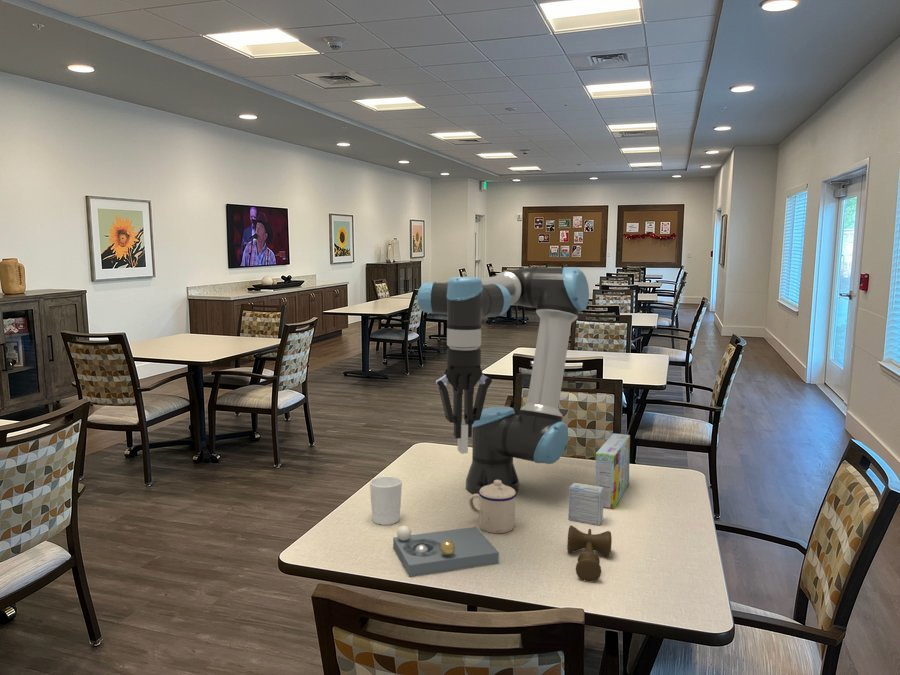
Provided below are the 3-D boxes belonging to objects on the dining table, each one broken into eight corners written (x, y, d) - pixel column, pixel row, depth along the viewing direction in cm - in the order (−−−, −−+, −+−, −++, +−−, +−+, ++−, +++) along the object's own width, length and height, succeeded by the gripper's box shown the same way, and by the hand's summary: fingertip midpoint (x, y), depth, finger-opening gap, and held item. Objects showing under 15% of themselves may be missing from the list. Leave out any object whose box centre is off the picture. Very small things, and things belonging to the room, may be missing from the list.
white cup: (396, 527, 159) (396, 488, 158) (365, 524, 161) (365, 485, 159) (405, 515, 167) (405, 477, 166) (375, 512, 168) (375, 475, 167)
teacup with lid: (520, 523, 162) (521, 478, 161) (507, 537, 154) (508, 489, 153) (476, 514, 168) (477, 470, 166) (461, 527, 160) (462, 481, 158)
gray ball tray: (475, 536, 154) (475, 526, 154) (498, 563, 141) (498, 552, 141) (393, 547, 148) (393, 537, 148) (409, 576, 135) (409, 565, 135)
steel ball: (429, 546, 145) (418, 539, 144) (433, 552, 142) (422, 545, 141) (420, 558, 144) (409, 551, 143) (424, 565, 141) (413, 557, 140)
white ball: (409, 536, 148) (409, 522, 148) (412, 542, 145) (412, 528, 145) (395, 537, 147) (395, 524, 147) (398, 543, 144) (398, 530, 144)
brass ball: (452, 550, 141) (452, 536, 141) (457, 557, 138) (457, 543, 138) (438, 552, 140) (438, 538, 140) (442, 559, 137) (442, 545, 137)
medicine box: (603, 519, 165) (604, 486, 164) (599, 526, 161) (600, 492, 160) (572, 514, 168) (573, 481, 167) (567, 520, 164) (568, 487, 163)
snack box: (610, 482, 193) (612, 432, 191) (629, 485, 190) (631, 434, 188) (593, 506, 174) (595, 451, 172) (614, 510, 171) (616, 454, 169)
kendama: (563, 582, 135) (568, 538, 154) (611, 589, 133) (610, 544, 152) (565, 555, 134) (569, 514, 153) (613, 561, 132) (611, 519, 151)
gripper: (485, 344, 149) (483, 444, 152) (430, 346, 145) (429, 449, 148) (497, 348, 142) (495, 454, 145) (440, 351, 138) (439, 459, 141)
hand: (462, 451), depth 146 cm, fingers closed
